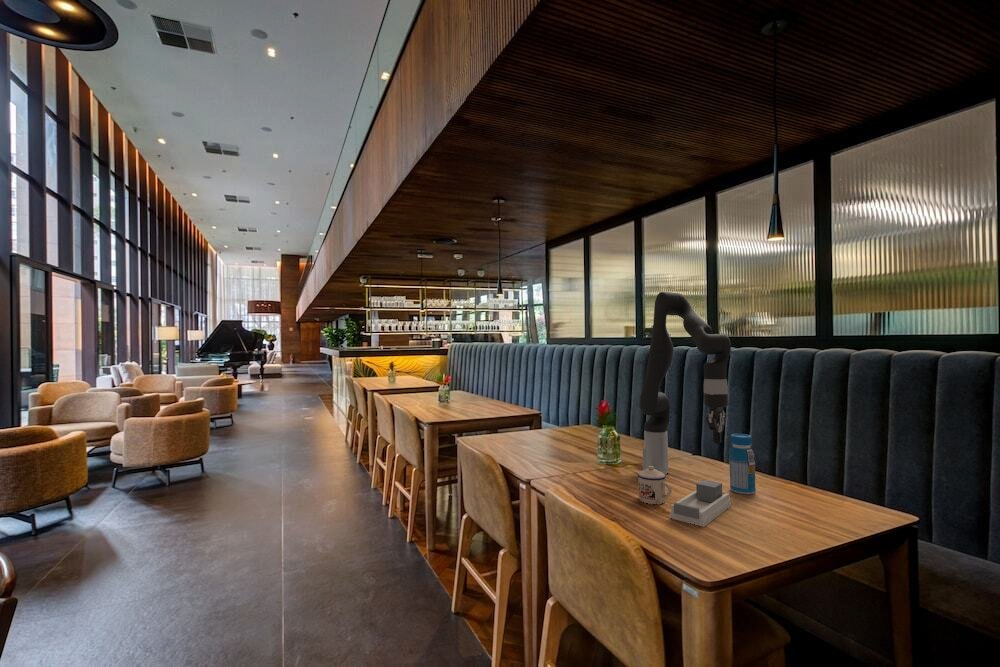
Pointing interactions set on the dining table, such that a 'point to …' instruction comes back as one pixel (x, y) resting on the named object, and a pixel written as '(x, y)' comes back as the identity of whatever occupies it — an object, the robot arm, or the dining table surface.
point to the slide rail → (698, 509)
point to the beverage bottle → (742, 464)
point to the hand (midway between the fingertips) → (717, 442)
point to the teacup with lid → (652, 486)
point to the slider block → (708, 490)
